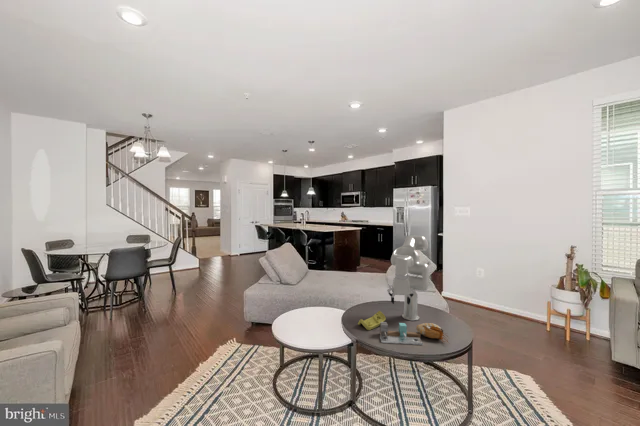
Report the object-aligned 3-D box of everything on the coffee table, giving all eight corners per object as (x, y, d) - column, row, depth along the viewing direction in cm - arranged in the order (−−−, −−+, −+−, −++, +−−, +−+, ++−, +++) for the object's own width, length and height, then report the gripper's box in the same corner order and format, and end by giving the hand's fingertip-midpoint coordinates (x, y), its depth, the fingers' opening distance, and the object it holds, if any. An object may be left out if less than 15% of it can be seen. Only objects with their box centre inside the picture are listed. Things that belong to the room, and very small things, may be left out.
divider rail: (380, 333, 179) (380, 321, 179) (418, 335, 177) (419, 323, 177) (382, 341, 168) (383, 329, 167) (424, 344, 166) (424, 331, 165)
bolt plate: (379, 337, 174) (379, 335, 174) (419, 339, 172) (419, 337, 172) (381, 342, 167) (381, 340, 167) (422, 345, 165) (422, 343, 165)
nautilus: (455, 344, 167) (438, 350, 161) (429, 328, 186) (412, 332, 180) (456, 332, 166) (438, 337, 160) (429, 317, 186) (412, 321, 180)
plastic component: (369, 328, 181) (359, 317, 188) (366, 335, 184) (356, 324, 191) (388, 319, 193) (378, 309, 200) (385, 326, 196) (375, 316, 203)
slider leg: (398, 334, 178) (398, 322, 178) (404, 334, 178) (405, 323, 177) (402, 342, 167) (402, 330, 166) (409, 343, 166) (409, 330, 166)
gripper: (413, 275, 175) (412, 302, 175) (386, 274, 176) (385, 301, 176) (416, 278, 167) (416, 306, 168) (388, 277, 168) (388, 305, 168)
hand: (400, 303), depth 172 cm, fingers open, 9 cm apart
